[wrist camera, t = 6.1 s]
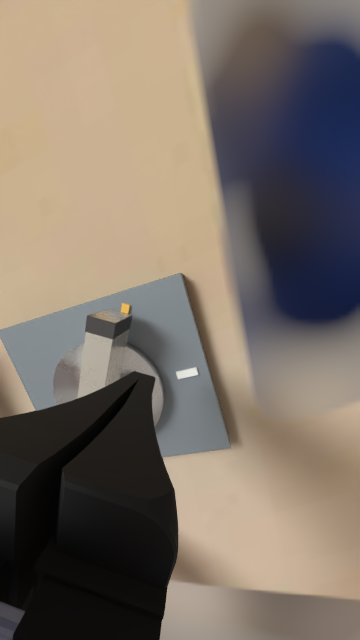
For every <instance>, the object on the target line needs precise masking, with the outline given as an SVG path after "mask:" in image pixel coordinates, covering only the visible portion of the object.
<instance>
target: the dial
mask: <svg viewBox="0 0 360 640" xmlns="http://www.w3.org/2000/svg"><path fill="white" fill-rule="evenodd" d="M132 316H133V315H130V314H127V313H123V312H119V311H116V310H112V309H107V310H103V311H100V312H97V313H93V314H90V315H87V319H86V326H85V332H86V335H85V343H83V344H81V345H79V346H77V347H75V348H73V349H72V350H70V351H69V352H67V353H66V354H65V355H64V356H63V358H62V359H61V360H60V362H59V363H58V365H57V367H56V370H55V373H54V378H53V391H54V396H55V400H56V403H57V405H59V404H63V403H66V402H69V401H72V400H75V399H78V398H80V397H83V396H86V395H88V394H90V393H93V392H95V391H97V390H99V389H101V388H103V387H106V386H108V385H110V384H111V383H113V382H115V381H117V380H119V379H121V378H122V377H124V376H126V375H128V374H130V373H131V372H133V371H136V372H140V373H143V374H147V375H150V376H154V377H155V379H156V380H155V384H154V389H153V393H152V411H153V421H154V427H155V426H156V424H157V422H158V420H159V418H160V415H161V412H162V409H163V406H164V401H165V388H164V383H163V379H162V376H161V374H160V372H159V370H158V368H157V366H156V365H155V364H154V362H153V361H152V360H151V359H150V358H149V356H148V355H147V354H145V353H144V352H143V351H142V350H140V349H139V348H137V347H136V346H134V345H132V344H130V343H128V342H127V338H128V333H129V329H130V326H131V321H132Z"/></svg>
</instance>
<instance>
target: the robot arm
mask: <svg viewBox="0 0 360 640" xmlns="http://www.w3.org/2000/svg"><path fill="white" fill-rule="evenodd" d="M155 380H156V379H155V377H154V376H150V375H147V374H143V373H140V372H136V371H133V372H131V373H130V374H128V375H126V376H124V377H122V378H121V379H119V380H117V381H115V382H113V383H111V384H110V385H108V386H106V387H103V388H101V389H99V390H97V391H95V392H93V393H90V394H88V395H86V396H83V397H80V398H78V399H75V400H72V401H69V402H66V403H63V404H59V405H56V406H52V407H49V408H46V409H42V410H37V411H33V412H29V413H24V414H20V415H15V416H9V417H4V418H0V640H159V639H160V630H161V622H162V619H163V616H164V611H165V603H166V593H167V586H168V583H169V580H170V577H171V574H172V571H173V569H174V566H175V563H176V559H177V553H178V519H177V508H176V499H175V491H174V488H173V485H172V483H171V480H170V478H169V475H168V473H167V470H166V467H165V464H164V461H163V458H162V455H161V452H160V448H159V445H158V441H157V437H156V432H155V427H154V421H153V411H152V393H153V389H154V384H155Z"/></svg>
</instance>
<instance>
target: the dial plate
mask: <svg viewBox="0 0 360 640" xmlns="http://www.w3.org/2000/svg"><path fill="white" fill-rule="evenodd" d="M107 309H112V310H116V311H119V312H123V313H127V314H130V315H133V316H132V321H131V326H130V329H129V333H128V338H127V342H128V343H130V344H132V345H134V346H136V347H137V348H139V349H140V350H142V351H143V352H144V353H145V354H147V355H148V356H149V358H150V359H151V360H152V361H153V362H154V364H155V365H156V366H157V368H158V370H159V372H160V374H161V376H162V379H163V383H164V388H165V401H164V406H163V409H162V412H161V415H160V418H159V420H158V422H157V424H156V426H155V432H156V437H157V441H158V445H159V448H160V452H161V455H162V457H168V456H176V455H183V454H191V453H198V452H206V451H213V450H220V449H228V448H231V446H230V440H229V435H228V432H227V428H226V425H225V421H224V418H223V414H222V411H221V407H220V404H219V400H218V397H217V393H216V390H215V386H214V383H213V379H212V376H211V372H210V369H209V365H208V362H207V358H206V355H205V351H204V348H203V344H202V341H201V337H200V334H199V330H198V327H197V323H196V320H195V316H194V313H193V309H192V306H191V302H190V299H189V296H188V292H187V289H186V285H185V282H184V278H183V275H182V273H178V274H175V275H172V276H169V277H166V278H163V279H159V280H156V281H153V282H150V283H147V284H144V285H140V286H137V287H134V288H131V289H128V290H125V291H121V292H118V293H115V294H112V295H109V296H106V297H102V298H99V299H96V300H93V301H90V302H87V303H84V304H80V305H77V306H74V307H71V308H68V309H65V310H61V311H58V312H55V313H52V314H49V315H46V316H42V317H39V318H36V319H33V320H30V321H27V322H24V323H20V324H17V325H14V326H11V327H8V328H5V329H1V330H0V338H1V340H2V342H3V344H4V346H5V348H6V350H7V352H8V355H9V357H10V359H11V361H12V363H13V365H14V367H15V369H16V371H17V373H18V375H19V377H20V379H21V381H22V383H23V385H24V387H25V390H26V392H27V394H28V396H29V398H30V400H31V402H32V404H33V406H34V408H35V410H36V411H37V410H42V409H46V408H49V407H52V406H56V405H57V403H56V400H55V396H54V391H53V378H54V373H55V370H56V367H57V365H58V363H59V362H60V360H61V359H62V358H63V356H64V355H65V354H66V353H67V352H69V351H70V350H72V349H73V348H75V347H77V346H79V345H81V344H83V343H85V335H86V332H85V326H86V319H87V315H90V314H93V313H97V312H100V311H103V310H107Z"/></svg>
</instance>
